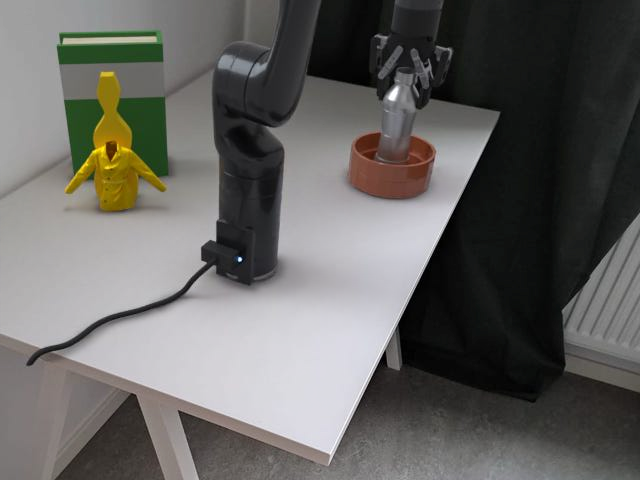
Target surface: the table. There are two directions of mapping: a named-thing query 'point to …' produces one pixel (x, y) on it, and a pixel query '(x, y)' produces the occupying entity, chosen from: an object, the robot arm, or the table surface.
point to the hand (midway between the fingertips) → (401, 103)
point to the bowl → (390, 168)
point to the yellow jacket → (113, 155)
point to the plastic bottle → (398, 118)
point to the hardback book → (135, 97)
